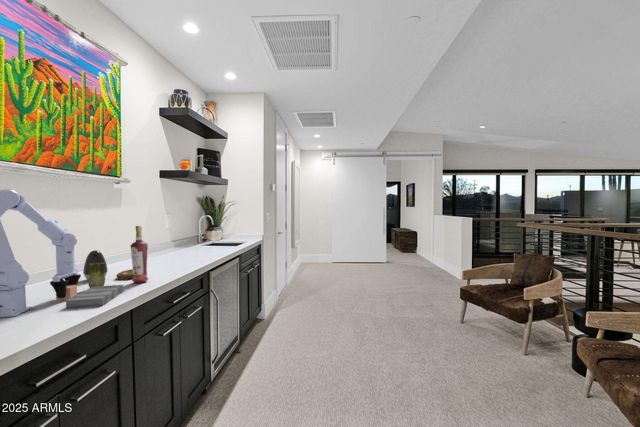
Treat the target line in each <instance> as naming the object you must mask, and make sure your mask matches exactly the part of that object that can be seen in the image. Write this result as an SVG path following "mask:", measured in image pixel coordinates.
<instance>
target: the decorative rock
mask: <svg viewBox="0 0 640 427" xmlns="http://www.w3.org/2000/svg"><path fill="white" fill-rule="evenodd" d="M116 279H117V280H118V281H119V280H120V281H125V280H126V281H128V280H129V279H130V280H133V268H132V269H130V268H129V269H127V270H123V271H120V272H118V273H117V274H116Z"/></svg>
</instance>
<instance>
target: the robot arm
mask: <svg viewBox="0 0 640 427" xmlns="http://www.w3.org/2000/svg"><path fill="white" fill-rule="evenodd" d="M9 210H11V211H17V212H19V213H21V214H22V215H23V216H25V217H26V218H27V219H29V221H31V222H32V223H34V224H36V225H37V230H38V231H39V232H40V233H41V234H42V235H44V236H45V237H47V238H48V239H50V241H51V244H52V245H53V246H55V259H56V264H55V266H56V273H55V275H54V276H52V278H51V279H52V280H51V281H49V285H50V286H52V289H53V290H54V292H55V295H56V294H57V297H58V298H65V295H66V287H67V285H77V286H78V283H79V280H80V278H81V277H82V275H81V274H79V269H77V268H75V266H76V265H75V246H76V245H77V242H78V239H77V238H76V236H75V235H74V234H73V233H68V230H67V228H65V229H64V228H63V227H62V226H61V225H59V222H58V221H57V220H54V219H52V218H51V219H48V218H46V217H44V215H42V213H40V211H38V210H37V209H36V208H35V207H34V206H33V205H32V204H30V203H29V201H28V200H27V199H26V198H25V197H24V196H22V195H21V194H19V193H18V192H17V191H16V190H14V189H10V188H8V189H7V188H4V189H0V218H1V217H3V215H4V214H5V213H6V212H7V211H9ZM10 244H11V243H10V242H9V238H8V236H7V234H6V232H5V229H4V226H3V223H2V221H1V219H0V318H8V317H16V316H17V315H18V316H19V315H21V314H22V313H24V312H26V311H28V310H31V309H33V306H31V305H30V306H27V299H26V298H27V295H26V284H27V283H28V281H29V278H30V276H29V273H28V272H27V271H25V270H24V269H23V266H22V265H21V263H20V262H18V261H17V260H16V258H15V255H14V253H13V249H12V247H11V245H10Z"/></svg>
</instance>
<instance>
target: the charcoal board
mask: <svg viewBox="0 0 640 427" xmlns="http://www.w3.org/2000/svg"><path fill="white" fill-rule="evenodd" d="M123 292H124V284H116V285H115V284H113V285H104V286H97V287H91V288H90V287H89V288H87V289H85V290H84V291H81V292H80V293H77V295H76V296H74V297H72V298H70V299H68V300H65V309H67V310H68V309H80V308H93V306H94V307H103V305H104V306H105V305H107V303H109V302H110V301H112V300H114V299H115V298H116V297H118V296H119V295H121V294H122V293H123Z"/></svg>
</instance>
